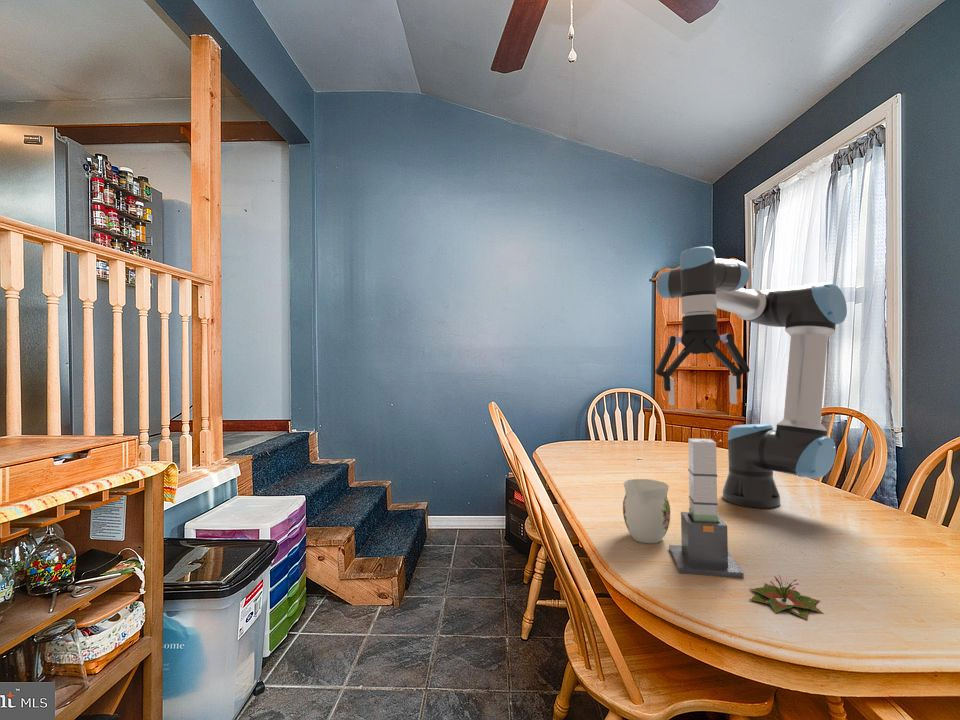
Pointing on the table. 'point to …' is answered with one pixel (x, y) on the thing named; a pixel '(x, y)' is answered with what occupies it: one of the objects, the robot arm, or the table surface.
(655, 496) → the pitcher
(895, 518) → the table surface
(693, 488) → the column
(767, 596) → the lily flower
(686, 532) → the stand
